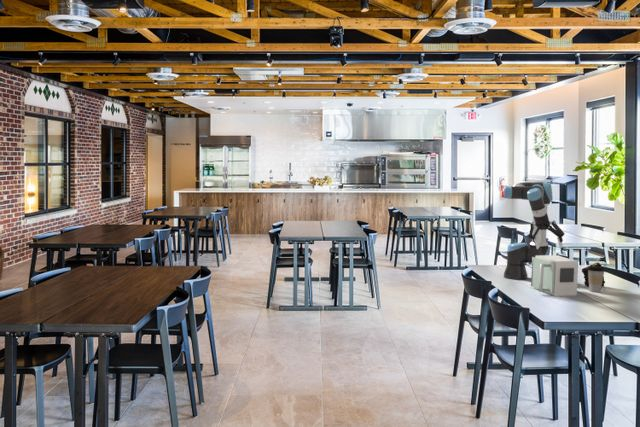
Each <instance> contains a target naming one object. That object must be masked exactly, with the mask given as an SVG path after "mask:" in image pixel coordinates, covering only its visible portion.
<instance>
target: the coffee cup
mask: <svg viewBox="0 0 640 427" xmlns="http://www.w3.org/2000/svg"><path fill="white" fill-rule="evenodd" d="M588 266H589V268H588V269H587V270H588V273H589V274H588V278H589V287H588V289H589V292H591V293H595V294H596V293H597V294H598V293H601V291H602V287H601V286H602V282H603V276H604V275H605V268H604V266H602V265H601V266H590V265H588ZM604 277H605V276H604Z"/></svg>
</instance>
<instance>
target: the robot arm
mask: <svg viewBox="0 0 640 427" xmlns="http://www.w3.org/2000/svg"><path fill="white" fill-rule="evenodd" d="M503 198H504V199H508V200H514V199H515V200H525V201H528V202H529V206H530V209H531V213H532V222H531V223H530V229H529V233H528V238H529V239H531V241H530V242H529V243H528V244H529V245H527V243H526V242H515V243H509V244H508V245H507V251H506V252H507V253H506V254H507V257H506V267H505V270H504V272H503V277H504V278H506V279H509V280H527V279H528V278H529V277H528V272H527V269H526V264H532V257H535V256H540V255H550V254H551V246H549V243H548V242H547V231H550V233H552V234H553V235H555V236H556V237H557V242H558V246H559V249H562V248H563V246H564V245H563V242H564V240H563V237H564V235H565V232H564V231H563V229H561V227H560V226H559V225H558V224H557V223H556V220H552V221H550V219H549V216H548V206H549V205H550V204H551V202H552V201H553V198H554V197H553V188H552V184H551V183H550V182H545V181H543V182H542V181H541V182H539V181H536V182H535V181H525V182H519V183H516V184H513V185H505V186H504V187H503Z"/></svg>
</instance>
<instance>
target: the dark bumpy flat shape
mask: <svg viewBox="0 0 640 427" xmlns="http://www.w3.org/2000/svg"><path fill="white" fill-rule="evenodd" d="M589 266H601V267H602V264H601V263H600V262H595V263H593V264H590V265H588V266H586V267H583V268H581V273H582V274H583V275H584V276H583V278H584V282H583V283H584V286H585V287H588V288H589V278H588V274H589V273H588V270H587V269H588V268H589ZM605 283H606V281H605V276H603V282H602V286H601V288H604V287H605Z"/></svg>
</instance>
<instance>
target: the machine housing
mask: <svg viewBox="0 0 640 427" xmlns="http://www.w3.org/2000/svg"><path fill="white" fill-rule="evenodd" d="M535 257H536V258H539V259H543V260H546V261H549V262H553V263H555V274H554V294H550V293H548V292H545V293H546V294H549V295H551V296H555V297H556V296H557V297H558V296H559V297H560V296H577V295H578V292H577V291H578V273H579V260H575V259H571V258H567V257H564V256H560V255H557V254H556V255H552V254H551V255H550V254H549V255H540V256H535ZM533 288H534V289H536V290H538V289H537V288H535V287H533Z"/></svg>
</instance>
